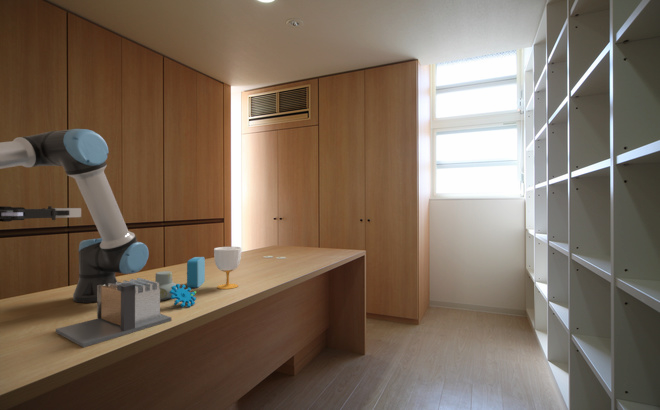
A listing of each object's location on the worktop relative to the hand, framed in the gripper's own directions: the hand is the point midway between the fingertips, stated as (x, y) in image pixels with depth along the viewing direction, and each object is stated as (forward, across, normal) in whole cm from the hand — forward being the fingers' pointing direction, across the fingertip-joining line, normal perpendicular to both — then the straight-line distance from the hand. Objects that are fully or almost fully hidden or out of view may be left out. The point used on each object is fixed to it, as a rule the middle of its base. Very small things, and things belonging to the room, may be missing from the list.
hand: (79, 212), depth 103 cm
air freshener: (+30, -6, -34) cm, 46 cm away
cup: (+56, 0, -34) cm, 66 cm away
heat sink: (+10, +11, -34) cm, 37 cm away
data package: (+50, -14, -34) cm, 63 cm away
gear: (+29, +9, -34) cm, 46 cm away
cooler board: (+5, +11, -34) cm, 36 cm away
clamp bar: (+5, +10, -33) cm, 34 cm away
